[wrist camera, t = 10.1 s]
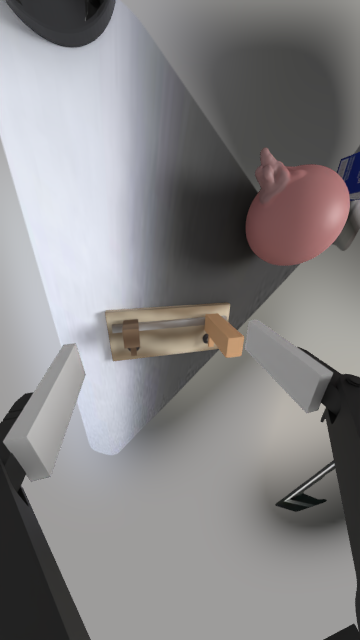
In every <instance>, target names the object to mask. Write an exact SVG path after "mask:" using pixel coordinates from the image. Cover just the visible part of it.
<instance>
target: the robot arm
mask: <svg viewBox="0 0 360 640" xmlns="http://www.w3.org/2000/svg"><path fill="white" fill-rule="evenodd" d="M5 1H6V2H7V4H8V5H9V6H10V7H11V9H12V10H13V11H14V12H15V13H16V14H17V16H18V17H19V18H20V19H21V20H22V21H23V22H24V23H25V24H26V25H28V26H29V27H30V28H31V29H32V30H33V31H35V32H36V33H38V34H39V35H40V36H42V37H44V38H45V39H47V40H49V41H51V42H53V43H56V44H59V45H63V46H68V47H78V46H83V45H86V44H89V43H91V42H92V41H94V40H95V39H97V38H98V37H99V36H100V35H101V34H102V33H103V31H104V30H105V28H106V27H107V25H108V23H109V21H110V19H111V16H112V13H113V10H114V6H115V0H5ZM245 349H246V350H247V351H248V352H249V354H250V355H251V356H253V358H254V359H255V360H256V361H257V362H258V363H259V364H260V365H261V366H262V367H263V368H264V369H265V370H266V371H267V372H268V373H269V374H270V375H271V377H272V378H273V379H274V380H275V381H276V382H277V383H278V384H279V385H280V386H281V387H282V388H283V389H284V390H285V391H286V392H287V393H288V394H289V395H290V396H291V397H292V399H293V400H294V401H295V402H296V403H297V404H298V405H299V406H300V407H301V408H302V409H303V410H304V411H305V412H306V413H309V412H313V411H317V410H318V409H319V406H320V404H321V403H322V404H323V405H325V406H326V409H325V411H324V413H323V415H322V418H321V422H323V421H324V419H326V421H327V426H328V432H329V437H330V442H331V447H332V452H333V458H334V463H335V468H336V473H337V478H338V483H339V488H340V493H341V499H342V504H343V509H344V514H345V520H346V525H347V530H348V535H349V540H350V545H351V551H352V556H353V561H354V566H355V571H356V577H357V591H356V598H355V606H356V617H357V623H358V629H359V631H358V629H357V628H356V626H355V624H352V625H350V626H349V627H347V628H345V629H343V630H341V631H339V632H337V633H335V634H334V635H331V636H329V637H328V638H326V639H324V640H360V377H357V376H354V375H350V374H340V373H339V372H337V371H336V370H334V369H333V368H332V367H330V366H329V365H327V364H326V363H324V362H323V361H321V360H319V359H318V358H317V357H315V356H314V355H313V354H311V353H309V352H308V351H307V350H304V349H302V348H300V347H296V346H294V345H293V344H291V343H290V342H289V341H287V340H286V339H285V338H283V337H282V336H280V335H279V334H277V333H276V332H275V331H273V330H272V329H270V328H269V327H267V326H266V325H264V324H263V323H262V322H260V321H259V320H250V321H249V324H248V331H247V338H246V345H245ZM85 375H86V374H85V371H84V368H83V365H82V362H81V358H80V355H79V352H78V349H77V346H76V343H74V344H67V345H63V347H62V348H61V350H60V351H59V353H58V355H57V356H56V358H55V359H54V361H53V363H52V364H51V366H50V367H49V369H48V370H47V372H46V374H45V375H44V377H43V378H42V380H41V382H40V383H39V385H38V386H37V388H36V390H35V391H34V392H33V393H27V394H24V395H23V396H22V397H21V398H20V399H18V400H17V401H16V402H15V403H14V405H13V406H12V407H11V409H10V410H9V413H8V414H7V415H6V416H5V418H4V419H3V422H1V423H0V640H91V639H90V637H89V635H88V633H87V631H86V628H85V626H84V624H83V621H82V619H81V617H80V615H79V612H78V610H77V608H76V606H75V604H74V601H73V599H72V597H71V595H70V592H69V590H68V588H67V586H66V583H65V581H64V579H63V577H62V574H61V572H60V570H59V568H58V566H57V563H56V561H55V559H54V556H53V554H52V552H51V550H50V548H49V545H48V543H47V541H46V539H45V536H44V534H43V532H42V530H41V527H40V525H39V523H38V521H37V518H36V516H35V514H34V512H33V509H32V507H31V505H30V503H29V500H28V498H27V496H26V494H25V492H24V489H23V488H22V487H21V484H22V482H23V480H24V477H25V475H27V477H28V478H29V480H30V481H31V482H32V481H36V480H39V479H44V478H48V477H51V474H52V471H53V469H54V466H55V463H56V460H57V457H58V454H59V451H60V448H61V445H62V442H63V439H64V436H65V433H66V430H67V427H68V425H69V422H70V419H71V415H72V413H73V410H74V407H75V404H76V401H77V398H78V395H79V392H80V389H81V386H82V383H83V381H84V378H85Z"/></svg>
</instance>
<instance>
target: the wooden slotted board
mask: <svg viewBox="0 0 360 640" xmlns="http://www.w3.org/2000/svg"><path fill="white" fill-rule="evenodd" d="M229 310H230V304H229V303H213V304H197V305H182V306H167V307H151V308H136V309H121V310H106V312H105V315H106V321H107V327H108V333H109V340H110V346H111V352H112V358H113V361H120V360H128V359H137V358H145V357H153V356H162V355H170V354H178V353H187V352H195V351H203V350H212V349H219V348H218V347H217V346H216V344H215V343H214V347H208V341H207V338H208V336H209V335H208V334H207V333H206V331H205V330H204V329H205V315H206V314H216V313H218V314H219V315H220V316H221V317H223V318H224V319H225V320H226V321H227V322H228V318H229Z"/></svg>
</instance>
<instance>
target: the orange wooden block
mask: <svg viewBox="0 0 360 640" xmlns="http://www.w3.org/2000/svg"><path fill="white" fill-rule="evenodd" d="M204 330H205V331H206V333H207V334H208V335H209V336H208V338H207V341H208V347H214V343H215V344H216V346H217V347H218V348H219V349H220V351H221V352H222V353H223V355H224V356H225V357H226V358H229V357H236V356H241V354H242V348H243V341H244V336H243V335H242V334H241V333H239V332H238V331H237V330H236V329H235V328H234V327H233V326H232V325H230V324H229V323H228V322H227V321H226V320H225V319H224V318H223V317H221V316H220V315H219V314H218V313H216V314H206V315H205V329H204Z"/></svg>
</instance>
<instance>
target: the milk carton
mask: <svg viewBox="0 0 360 640" xmlns="http://www.w3.org/2000/svg"><path fill="white" fill-rule="evenodd" d="M337 174H338V175H339V176H340V177H341V178H342V179H343V180H344V182H345V184H346V186H347V188H348V192H349V197H350V201H354V200H359V199H360V152H358V153H356V154H353V155H351V156H348V157H346V158H343V159H341V161H340V164H339V167H338V171H337Z"/></svg>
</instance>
